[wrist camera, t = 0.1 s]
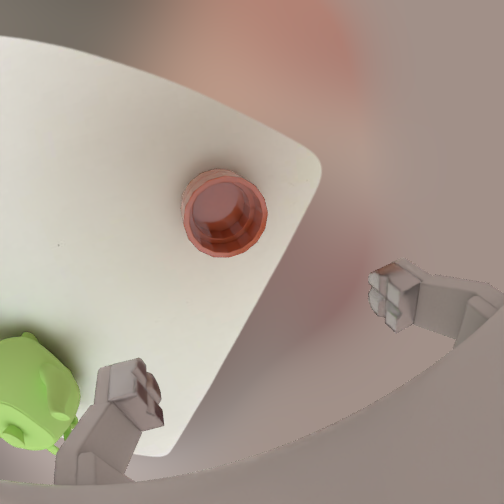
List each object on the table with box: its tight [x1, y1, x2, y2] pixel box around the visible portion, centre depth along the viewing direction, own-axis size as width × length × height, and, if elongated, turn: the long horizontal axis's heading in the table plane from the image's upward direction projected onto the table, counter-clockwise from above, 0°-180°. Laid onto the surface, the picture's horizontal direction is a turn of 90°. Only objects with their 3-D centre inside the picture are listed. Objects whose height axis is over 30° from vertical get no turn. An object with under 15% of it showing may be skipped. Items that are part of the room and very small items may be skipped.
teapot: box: [0, 332, 80, 455], centre depth 22 cm, size 16×14×13 cm
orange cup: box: [181, 169, 268, 257], centre depth 25 cm, size 7×7×5 cm
